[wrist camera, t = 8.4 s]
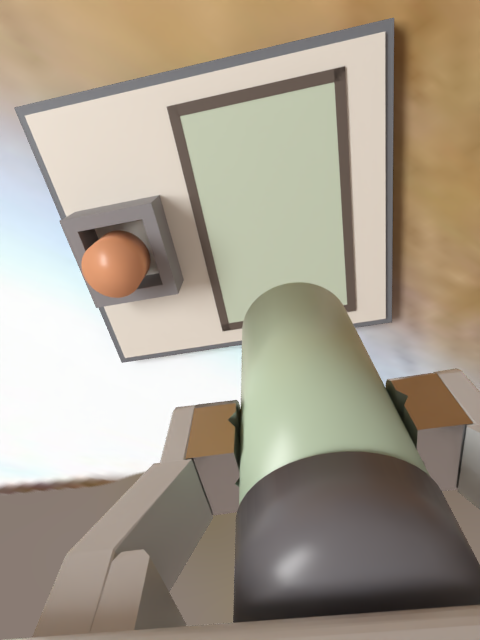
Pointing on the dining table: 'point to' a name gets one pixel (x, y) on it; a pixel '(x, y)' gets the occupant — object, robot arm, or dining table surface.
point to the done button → (116, 264)
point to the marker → (333, 477)
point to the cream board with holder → (232, 184)
